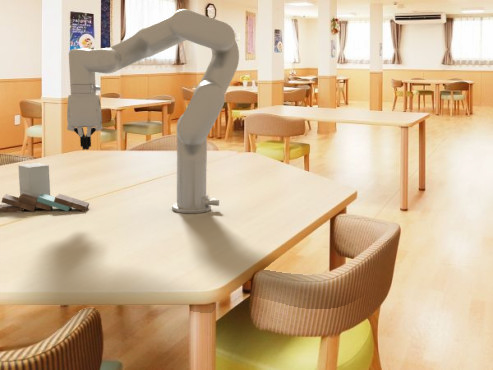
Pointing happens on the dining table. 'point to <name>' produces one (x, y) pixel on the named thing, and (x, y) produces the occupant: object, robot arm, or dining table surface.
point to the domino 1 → (9, 208)
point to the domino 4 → (51, 202)
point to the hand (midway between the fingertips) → (86, 148)
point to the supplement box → (34, 179)
